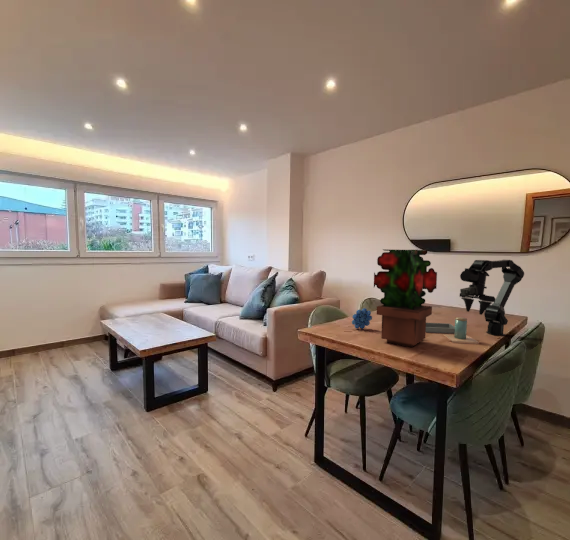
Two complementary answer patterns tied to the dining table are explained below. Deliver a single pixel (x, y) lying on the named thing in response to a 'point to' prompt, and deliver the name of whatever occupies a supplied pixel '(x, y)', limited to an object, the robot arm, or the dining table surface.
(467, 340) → the tile
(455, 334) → the jar
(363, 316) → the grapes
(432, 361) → the dining table surface
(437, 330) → the grey tray
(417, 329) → the potted plant
